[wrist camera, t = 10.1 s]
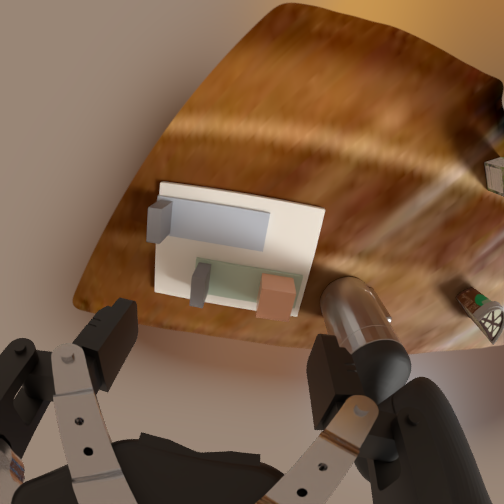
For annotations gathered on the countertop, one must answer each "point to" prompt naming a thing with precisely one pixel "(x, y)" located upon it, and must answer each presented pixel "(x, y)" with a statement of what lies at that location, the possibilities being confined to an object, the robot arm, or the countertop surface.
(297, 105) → the countertop surface
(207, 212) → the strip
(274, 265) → the lane board
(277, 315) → the block
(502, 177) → the syrup box
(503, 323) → the food container
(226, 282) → the block strip
